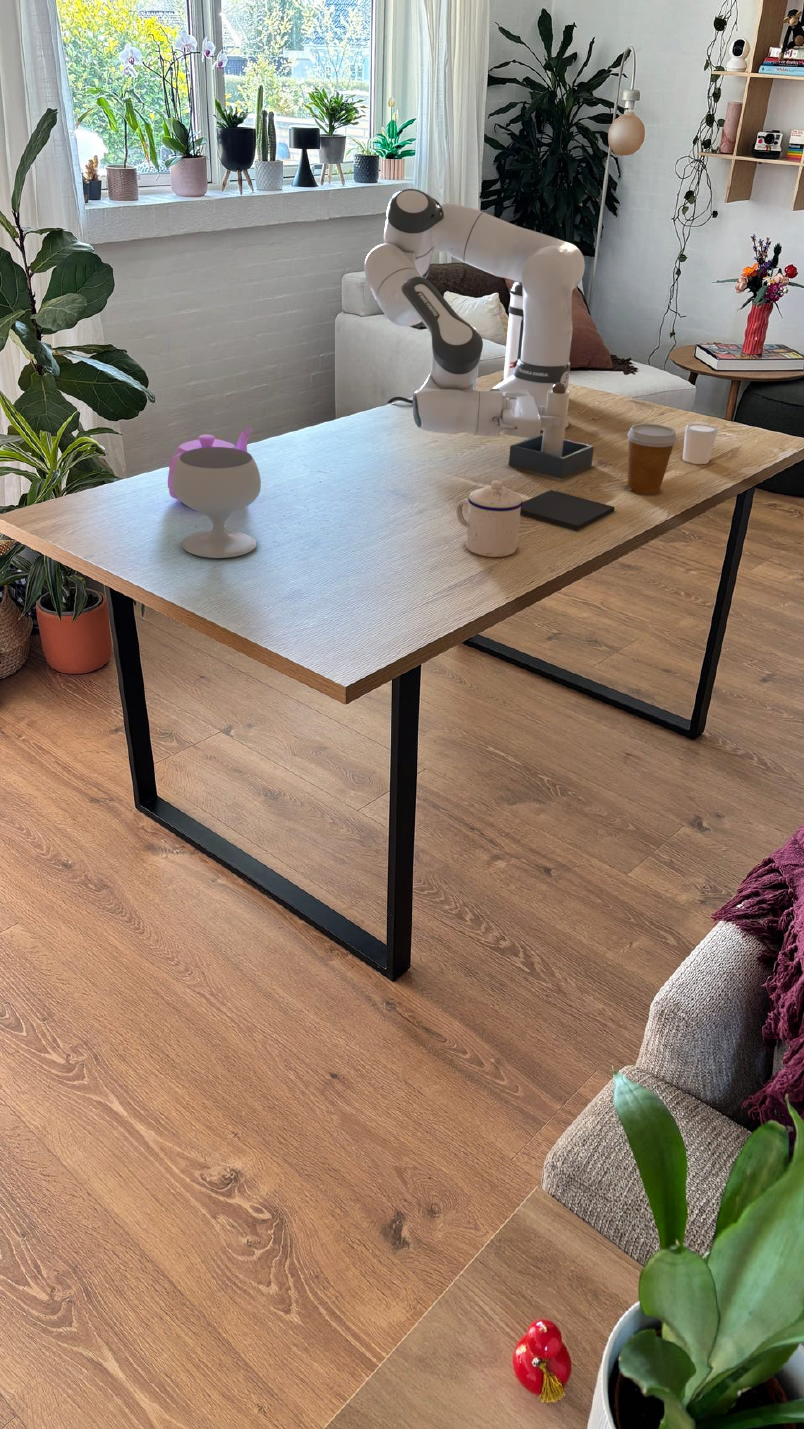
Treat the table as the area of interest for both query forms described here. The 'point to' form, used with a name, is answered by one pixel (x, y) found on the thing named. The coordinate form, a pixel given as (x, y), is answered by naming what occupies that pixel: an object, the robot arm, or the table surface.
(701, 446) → the white cup
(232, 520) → the table surface
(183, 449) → the teapot
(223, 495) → the chalice
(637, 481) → the disposable coffee cup
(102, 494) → the table surface
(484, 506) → the teacup with lid
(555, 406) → the pepper mill
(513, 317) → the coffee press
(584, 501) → the mat
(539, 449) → the basket
